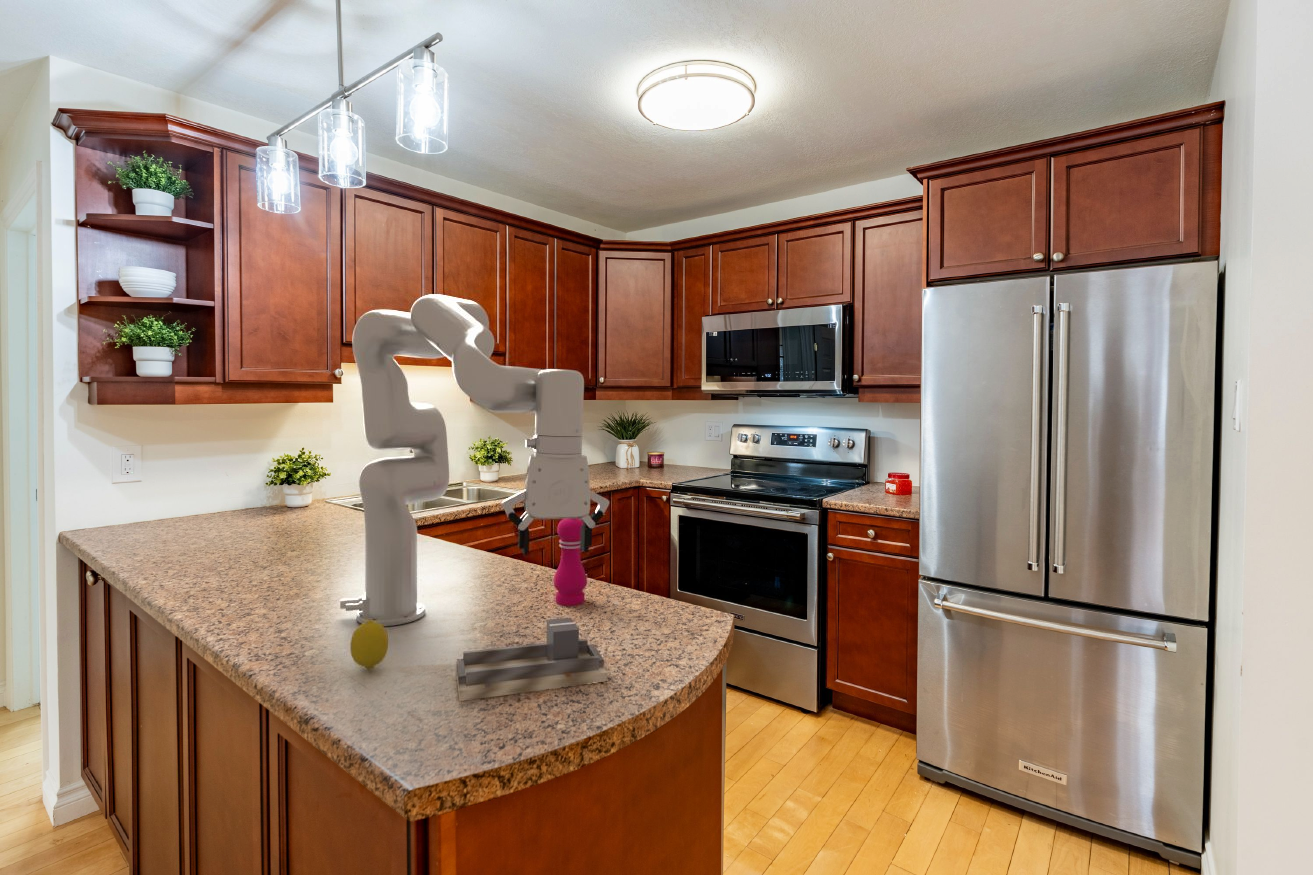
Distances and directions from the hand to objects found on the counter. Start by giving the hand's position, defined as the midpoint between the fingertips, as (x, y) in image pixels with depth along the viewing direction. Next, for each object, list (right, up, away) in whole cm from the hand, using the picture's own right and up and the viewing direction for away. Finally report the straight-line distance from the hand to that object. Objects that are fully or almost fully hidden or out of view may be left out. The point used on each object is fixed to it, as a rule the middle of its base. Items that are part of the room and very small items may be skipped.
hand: (555, 551), depth 104 cm
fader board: (-3, -19, -3) cm, 20 cm away
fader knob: (+1, -17, -1) cm, 17 cm away
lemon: (-29, -19, -2) cm, 35 cm away
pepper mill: (-2, -17, +36) cm, 40 cm away
